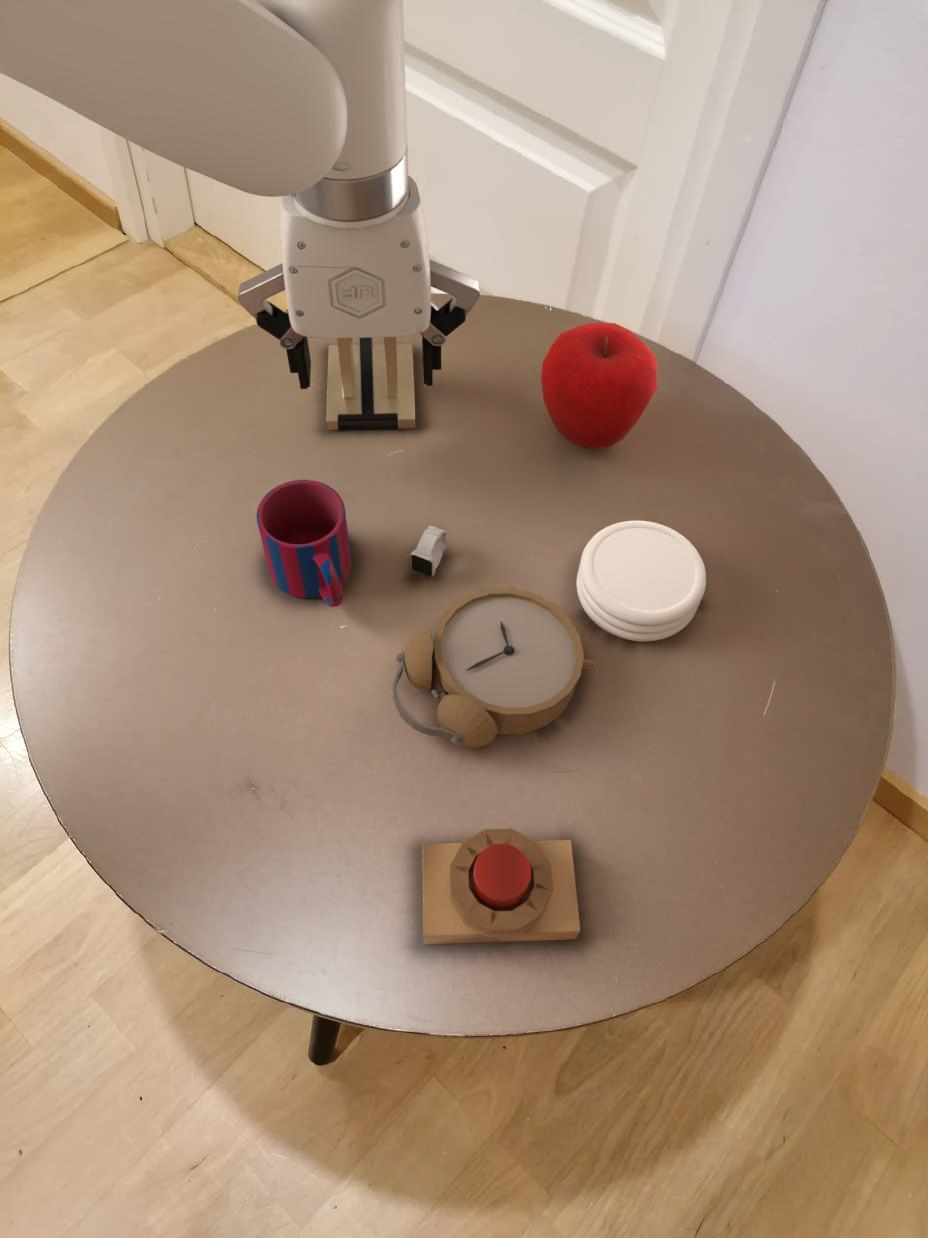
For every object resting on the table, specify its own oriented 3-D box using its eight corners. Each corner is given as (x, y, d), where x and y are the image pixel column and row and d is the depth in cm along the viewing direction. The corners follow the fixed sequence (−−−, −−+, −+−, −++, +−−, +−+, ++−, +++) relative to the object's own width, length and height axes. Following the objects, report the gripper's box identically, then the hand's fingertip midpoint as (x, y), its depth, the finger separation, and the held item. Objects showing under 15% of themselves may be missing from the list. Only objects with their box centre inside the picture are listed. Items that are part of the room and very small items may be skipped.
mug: (338, 524, 79) (331, 470, 74) (373, 618, 74) (368, 568, 69) (260, 544, 78) (247, 491, 72) (290, 641, 73) (278, 592, 67)
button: (474, 909, 59) (475, 901, 57) (471, 853, 61) (472, 844, 59) (531, 907, 59) (533, 899, 57) (526, 851, 61) (529, 842, 59)
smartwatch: (428, 544, 78) (428, 514, 75) (452, 552, 78) (452, 523, 75) (410, 576, 77) (409, 547, 73) (434, 585, 76) (433, 556, 73)
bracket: (415, 428, 86) (413, 314, 75) (327, 430, 85) (312, 315, 74) (412, 353, 91) (409, 236, 80) (329, 354, 90) (316, 237, 80)
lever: (398, 433, 80) (397, 426, 77) (339, 434, 79) (337, 427, 77) (393, 282, 80) (393, 270, 78) (335, 282, 80) (332, 271, 78)
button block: (423, 948, 61) (423, 932, 57) (422, 851, 64) (421, 830, 61) (576, 943, 61) (585, 927, 58) (566, 847, 65) (574, 826, 61)
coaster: (714, 633, 75) (726, 609, 72) (594, 653, 73) (601, 630, 70) (674, 535, 80) (683, 509, 77) (561, 552, 78) (566, 526, 75)
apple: (516, 444, 85) (527, 350, 76) (562, 380, 90) (577, 284, 80) (616, 486, 83) (639, 395, 73) (657, 418, 87) (684, 324, 78)
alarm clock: (617, 671, 69) (447, 752, 62) (597, 707, 73) (435, 787, 66) (531, 565, 74) (365, 630, 67) (517, 604, 78) (358, 669, 71)
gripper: (207, 210, 57) (254, 412, 72) (488, 206, 58) (478, 406, 73) (217, 140, 61) (259, 344, 76) (480, 137, 62) (473, 340, 77)
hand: (367, 375), depth 74 cm, fingers open, 9 cm apart
